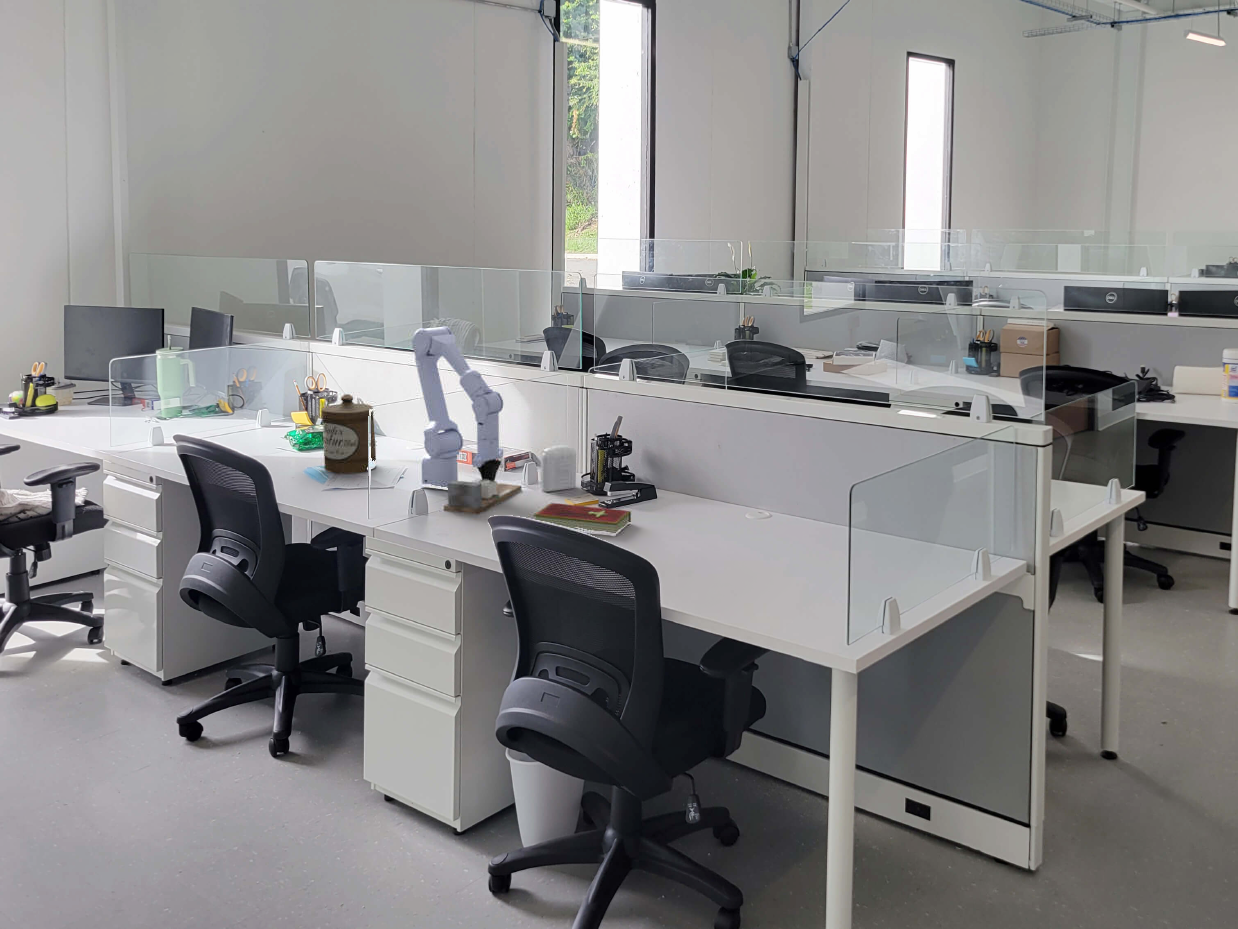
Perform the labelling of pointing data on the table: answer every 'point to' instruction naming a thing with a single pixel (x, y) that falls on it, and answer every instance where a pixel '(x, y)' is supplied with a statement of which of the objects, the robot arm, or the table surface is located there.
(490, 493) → the gauge
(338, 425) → the wooden container
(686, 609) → the table surface
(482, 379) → the robot arm
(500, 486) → the test bench
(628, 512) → the hardcover book
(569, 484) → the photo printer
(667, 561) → the table surface
